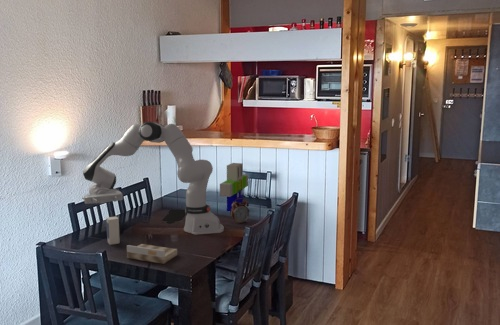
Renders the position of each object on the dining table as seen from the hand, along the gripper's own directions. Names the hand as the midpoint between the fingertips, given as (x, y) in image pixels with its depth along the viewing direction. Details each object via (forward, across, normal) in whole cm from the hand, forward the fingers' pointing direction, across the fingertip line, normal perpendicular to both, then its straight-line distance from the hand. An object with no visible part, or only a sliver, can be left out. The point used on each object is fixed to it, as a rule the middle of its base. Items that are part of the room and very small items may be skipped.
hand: (106, 200), depth 252 cm
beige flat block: (+42, +12, +19) cm, 47 cm away
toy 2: (-15, +84, +19) cm, 88 cm away
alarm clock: (+12, +74, +19) cm, 77 cm away
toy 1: (-19, +44, +20) cm, 52 cm away
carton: (+12, 0, +19) cm, 23 cm away
